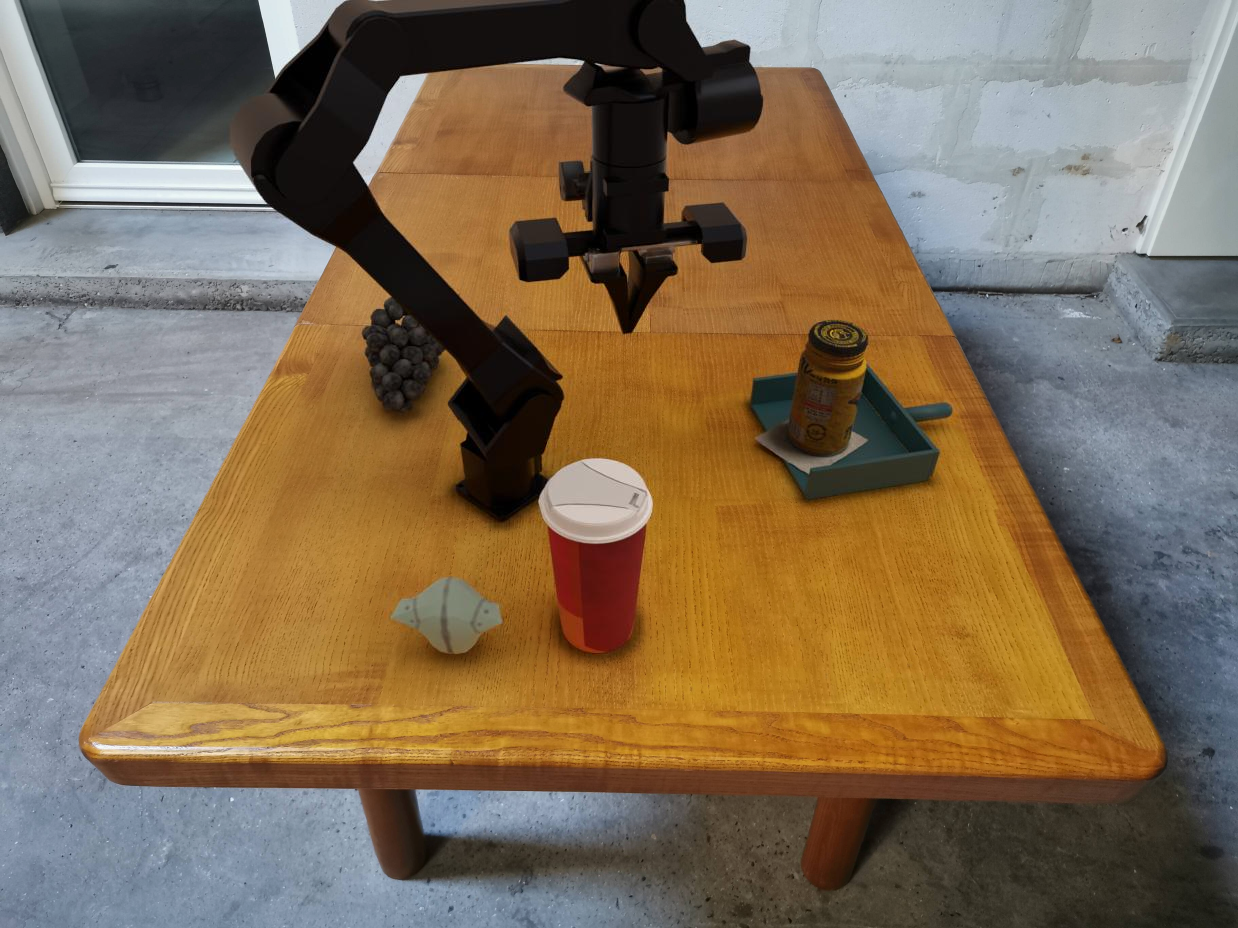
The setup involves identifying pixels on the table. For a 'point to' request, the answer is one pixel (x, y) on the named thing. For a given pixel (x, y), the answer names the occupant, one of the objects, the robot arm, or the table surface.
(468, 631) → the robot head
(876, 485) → the teal dustpan
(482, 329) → the robot arm
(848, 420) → the condiment
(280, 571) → the table surface
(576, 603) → the paper cup
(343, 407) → the table surface
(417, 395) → the fruit
